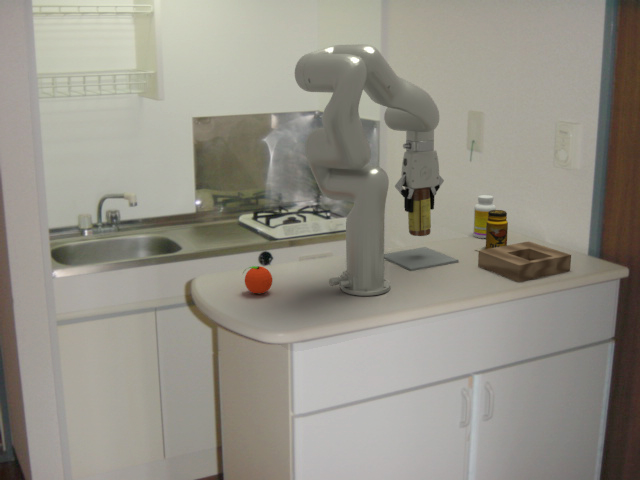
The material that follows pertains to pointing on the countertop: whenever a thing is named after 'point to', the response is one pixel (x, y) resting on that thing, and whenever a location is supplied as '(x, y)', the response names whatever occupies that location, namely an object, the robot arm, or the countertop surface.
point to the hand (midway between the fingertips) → (419, 209)
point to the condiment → (496, 229)
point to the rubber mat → (419, 258)
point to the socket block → (524, 261)
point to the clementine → (258, 279)
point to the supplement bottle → (482, 214)
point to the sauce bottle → (420, 213)
